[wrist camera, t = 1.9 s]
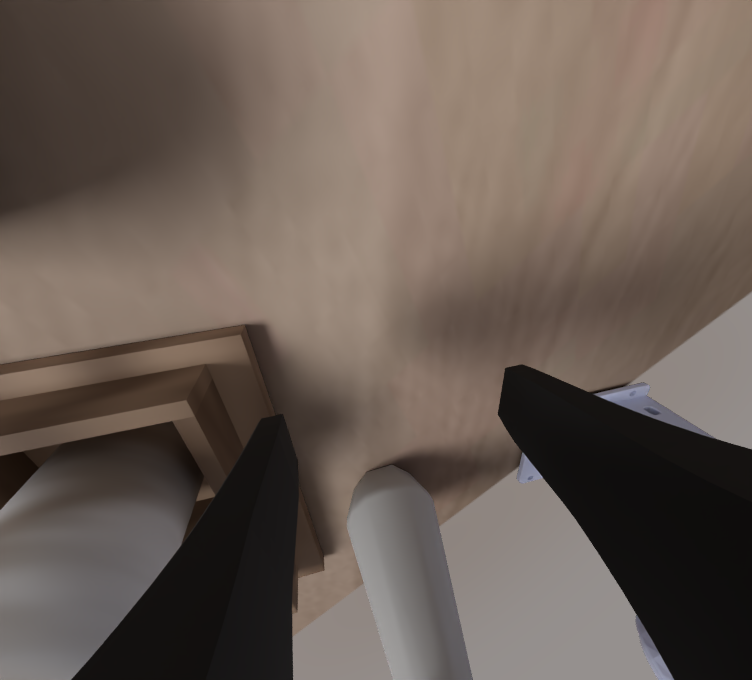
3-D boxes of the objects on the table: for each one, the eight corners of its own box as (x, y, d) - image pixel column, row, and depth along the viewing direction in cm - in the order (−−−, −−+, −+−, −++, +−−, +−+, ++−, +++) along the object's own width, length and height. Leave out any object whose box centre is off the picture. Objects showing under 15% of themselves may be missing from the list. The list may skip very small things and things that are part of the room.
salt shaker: (434, 481, 22) (566, 784, 11) (373, 520, 23) (440, 842, 12) (394, 443, 19) (519, 802, 8) (326, 489, 20) (355, 879, 9)
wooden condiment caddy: (244, 324, 13) (165, 518, 6) (323, 556, 24) (333, 737, 16) (-98, 380, 12) (-911, 783, 4) (149, 605, 22) (65, 838, 14)
